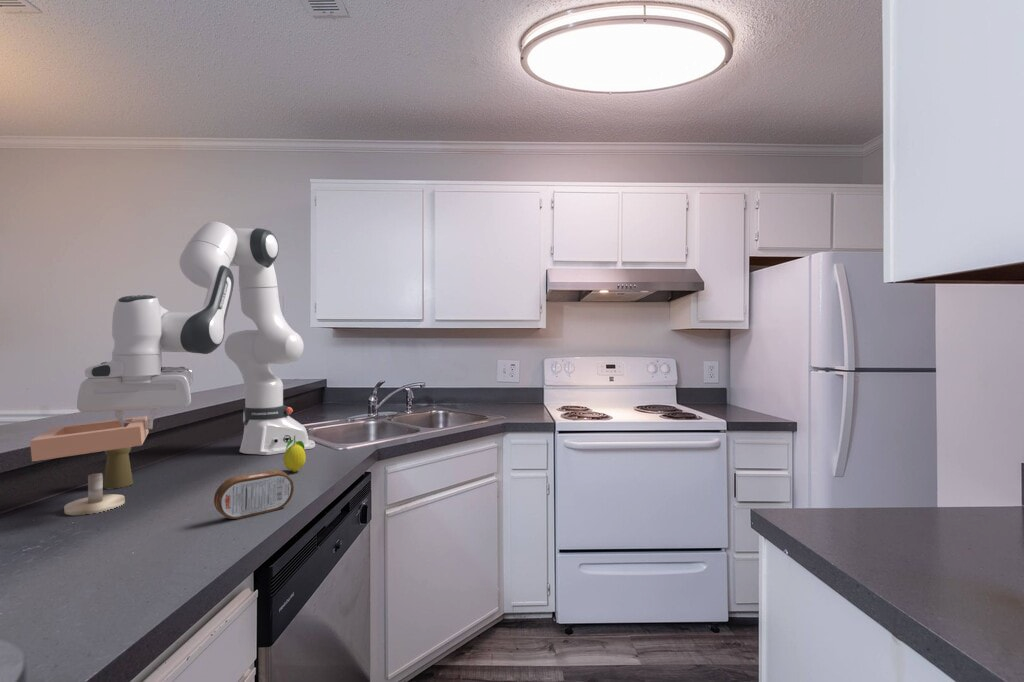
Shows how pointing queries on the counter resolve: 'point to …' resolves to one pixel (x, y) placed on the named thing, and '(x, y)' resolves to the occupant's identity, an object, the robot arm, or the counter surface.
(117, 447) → the pink square frame
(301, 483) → the counter surface
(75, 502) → the mushroom
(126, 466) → the cork
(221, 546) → the counter surface
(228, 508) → the tin
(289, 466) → the lemon
